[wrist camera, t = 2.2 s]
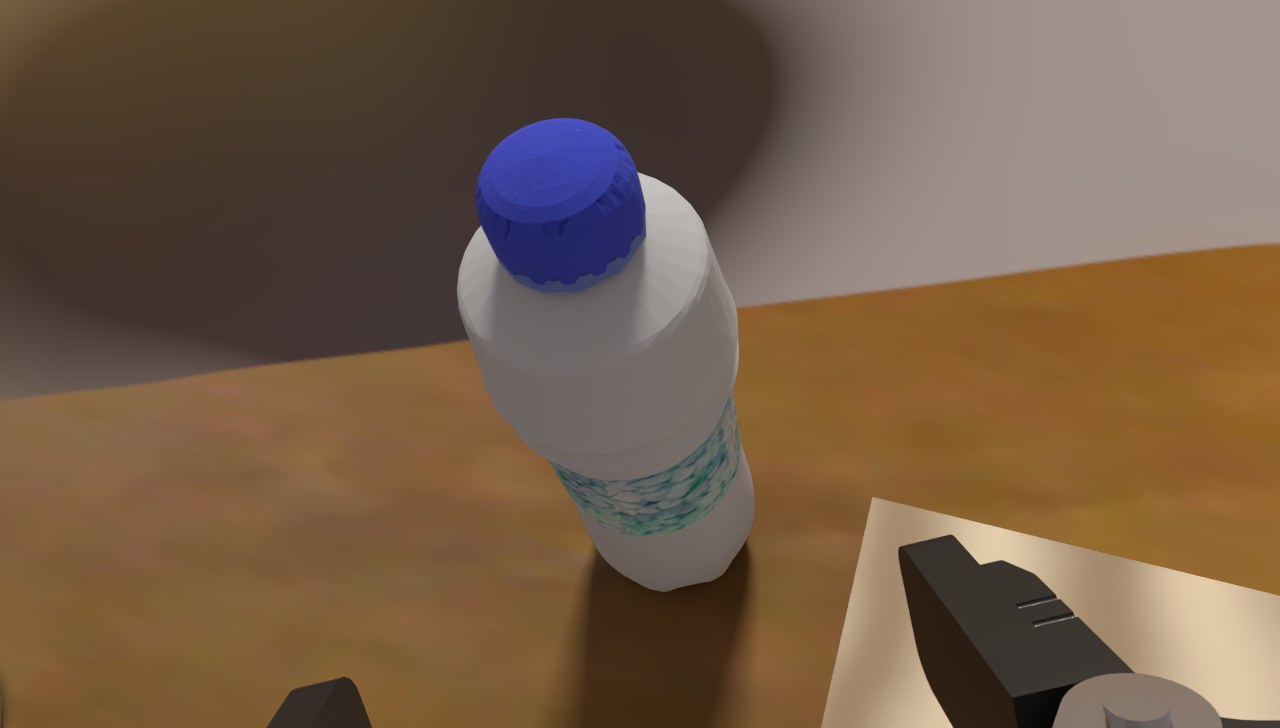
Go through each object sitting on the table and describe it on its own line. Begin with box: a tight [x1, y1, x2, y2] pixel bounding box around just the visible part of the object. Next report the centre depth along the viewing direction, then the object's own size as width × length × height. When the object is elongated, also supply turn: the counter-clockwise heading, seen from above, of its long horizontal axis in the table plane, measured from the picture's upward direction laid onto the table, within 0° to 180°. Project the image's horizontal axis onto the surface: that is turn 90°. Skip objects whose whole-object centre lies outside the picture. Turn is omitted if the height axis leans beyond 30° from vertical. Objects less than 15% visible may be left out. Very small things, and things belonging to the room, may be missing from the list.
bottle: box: [457, 118, 755, 592], centre depth 25 cm, size 7×7×20 cm
